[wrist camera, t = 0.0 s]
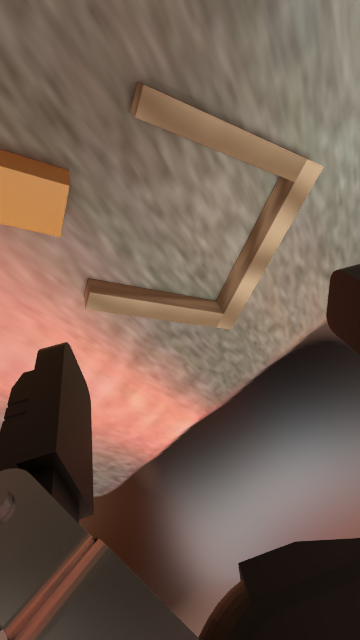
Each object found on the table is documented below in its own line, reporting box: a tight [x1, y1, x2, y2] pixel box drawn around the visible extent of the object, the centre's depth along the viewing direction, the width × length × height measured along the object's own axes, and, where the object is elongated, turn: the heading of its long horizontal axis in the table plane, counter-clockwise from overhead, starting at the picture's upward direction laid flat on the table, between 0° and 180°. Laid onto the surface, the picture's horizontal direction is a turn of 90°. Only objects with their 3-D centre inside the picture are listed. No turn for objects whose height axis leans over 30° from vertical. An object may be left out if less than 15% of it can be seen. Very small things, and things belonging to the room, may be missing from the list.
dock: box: [84, 82, 323, 329], centre depth 31 cm, size 19×17×2 cm
